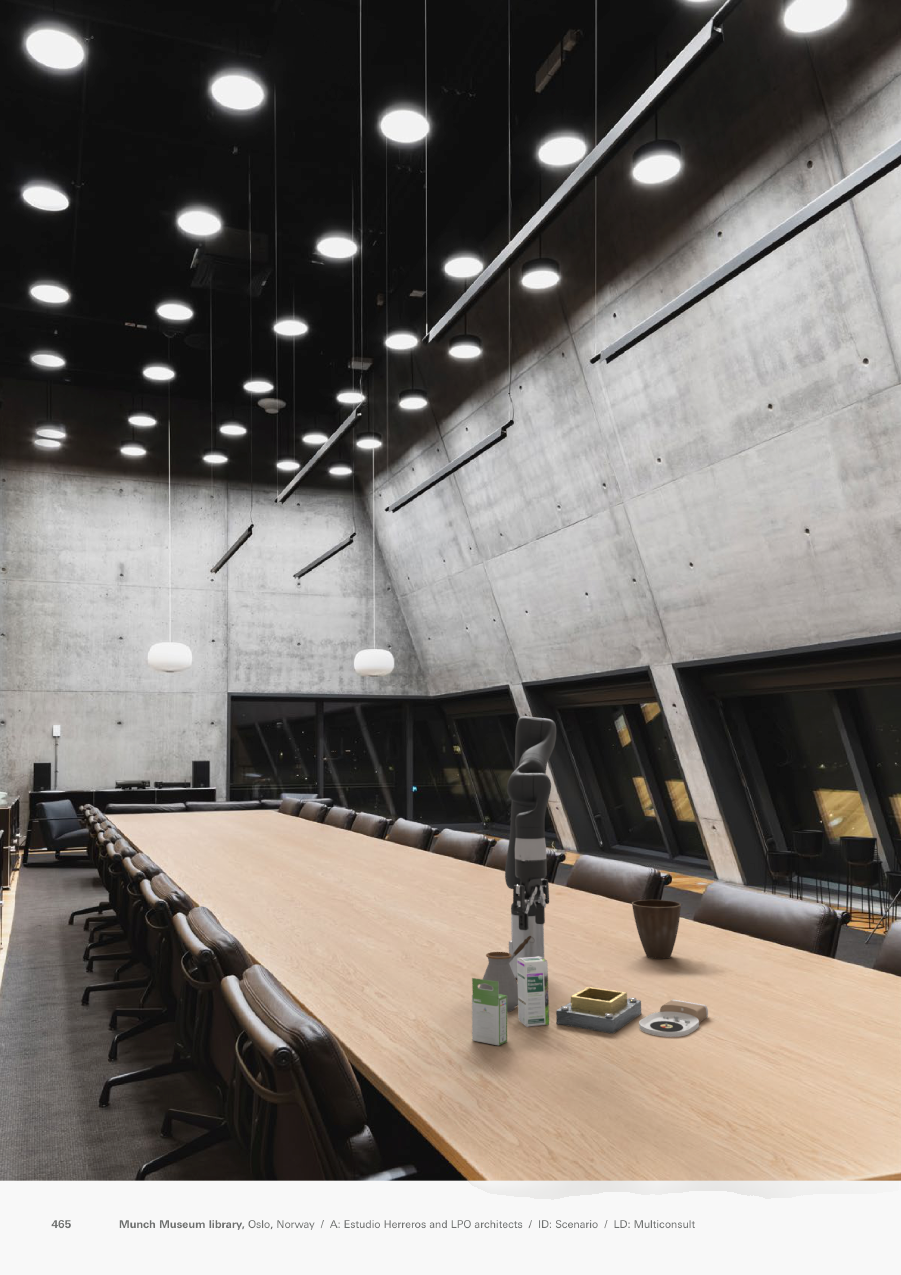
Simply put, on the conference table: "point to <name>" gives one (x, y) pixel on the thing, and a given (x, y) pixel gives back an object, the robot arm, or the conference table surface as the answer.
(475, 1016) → the ink box
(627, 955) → the conference table surface
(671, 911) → the plant pot
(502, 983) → the coffee pot
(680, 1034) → the record player
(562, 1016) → the square socket fixture
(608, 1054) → the conference table surface
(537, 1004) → the syrup box
